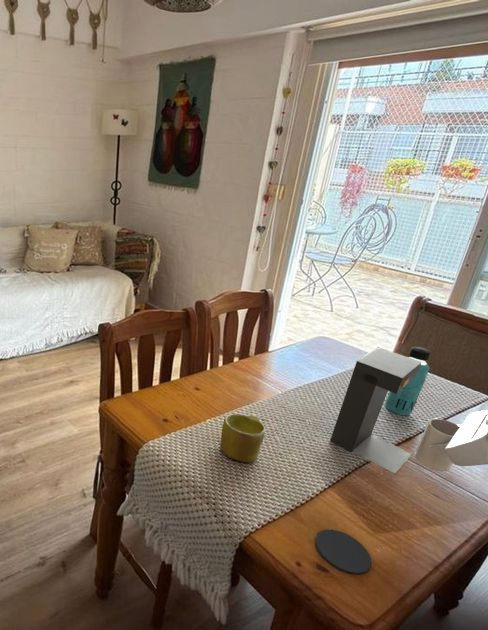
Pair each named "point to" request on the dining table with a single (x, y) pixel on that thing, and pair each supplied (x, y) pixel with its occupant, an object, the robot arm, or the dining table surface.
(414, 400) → the beverage bottle
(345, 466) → the dining table surface
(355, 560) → the coaster
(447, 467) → the coffee cup
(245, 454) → the mug
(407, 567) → the dining table surface
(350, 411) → the coffee maker
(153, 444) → the dining table surface
